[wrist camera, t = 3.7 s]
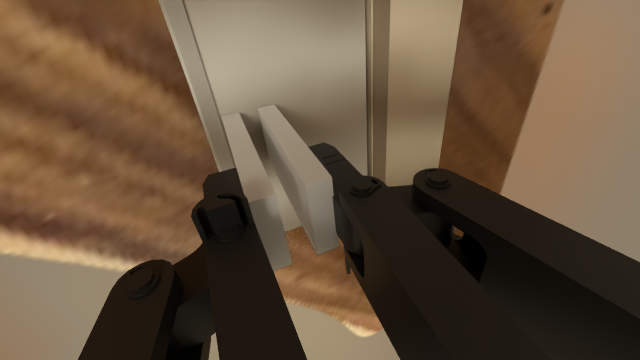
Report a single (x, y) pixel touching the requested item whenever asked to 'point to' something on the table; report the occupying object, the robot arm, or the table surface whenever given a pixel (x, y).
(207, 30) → the plank
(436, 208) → the robot arm
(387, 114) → the laid board
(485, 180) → the table surface
